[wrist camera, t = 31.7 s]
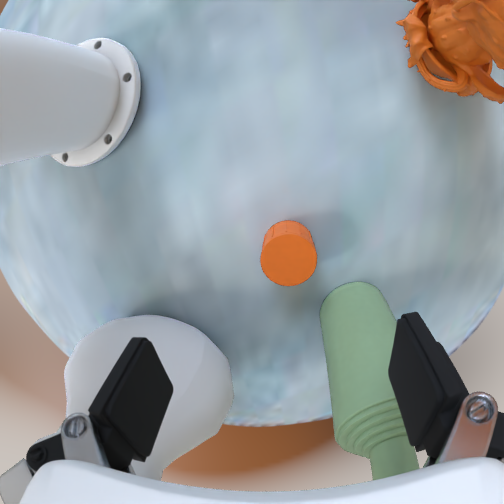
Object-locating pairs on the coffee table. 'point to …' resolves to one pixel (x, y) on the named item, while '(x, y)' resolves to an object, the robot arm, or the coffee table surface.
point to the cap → (288, 253)
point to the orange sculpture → (457, 44)
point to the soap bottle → (178, 370)
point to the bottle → (364, 378)
